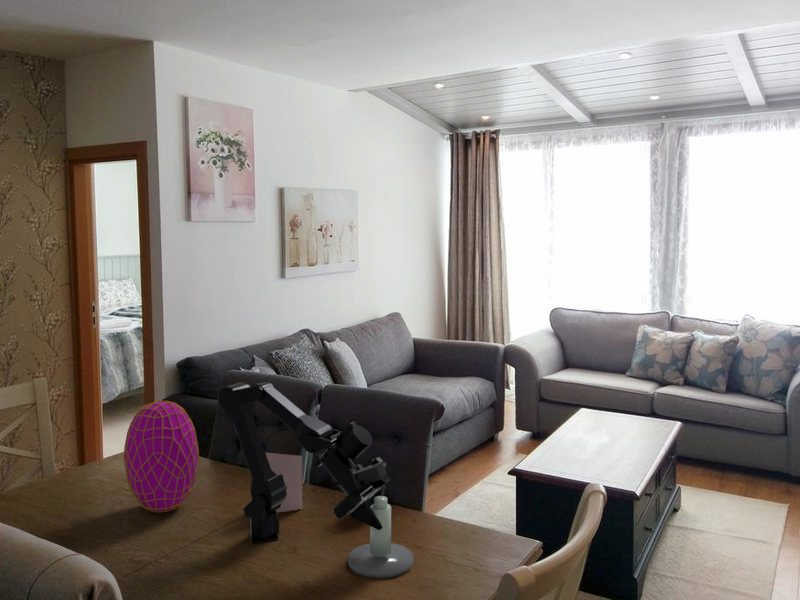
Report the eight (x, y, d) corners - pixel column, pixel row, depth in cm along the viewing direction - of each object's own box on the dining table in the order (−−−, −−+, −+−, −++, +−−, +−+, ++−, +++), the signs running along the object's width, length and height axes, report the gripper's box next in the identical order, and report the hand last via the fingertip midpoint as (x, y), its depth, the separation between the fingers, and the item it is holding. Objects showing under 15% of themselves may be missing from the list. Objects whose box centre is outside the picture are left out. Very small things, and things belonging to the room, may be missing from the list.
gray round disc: (357, 582, 145) (357, 577, 145) (341, 552, 160) (341, 547, 160) (422, 572, 150) (422, 566, 150) (401, 543, 164) (401, 538, 164)
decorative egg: (109, 517, 180) (105, 407, 177) (160, 492, 198) (157, 391, 195) (166, 528, 173) (163, 414, 170) (214, 501, 191) (212, 397, 188)
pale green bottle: (368, 555, 153) (369, 502, 151) (371, 546, 157) (371, 494, 156) (389, 556, 152) (390, 503, 151) (391, 546, 157) (392, 494, 156)
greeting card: (303, 508, 186) (303, 455, 185) (292, 518, 179) (291, 463, 178) (266, 503, 189) (265, 451, 188) (253, 513, 182) (252, 459, 181)
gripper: (345, 462, 146) (391, 520, 142) (382, 439, 163) (424, 490, 159) (314, 491, 150) (358, 548, 146) (354, 466, 167) (394, 516, 163)
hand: (385, 524), depth 154 cm, fingers closed on pale green bottle, 5 cm apart
